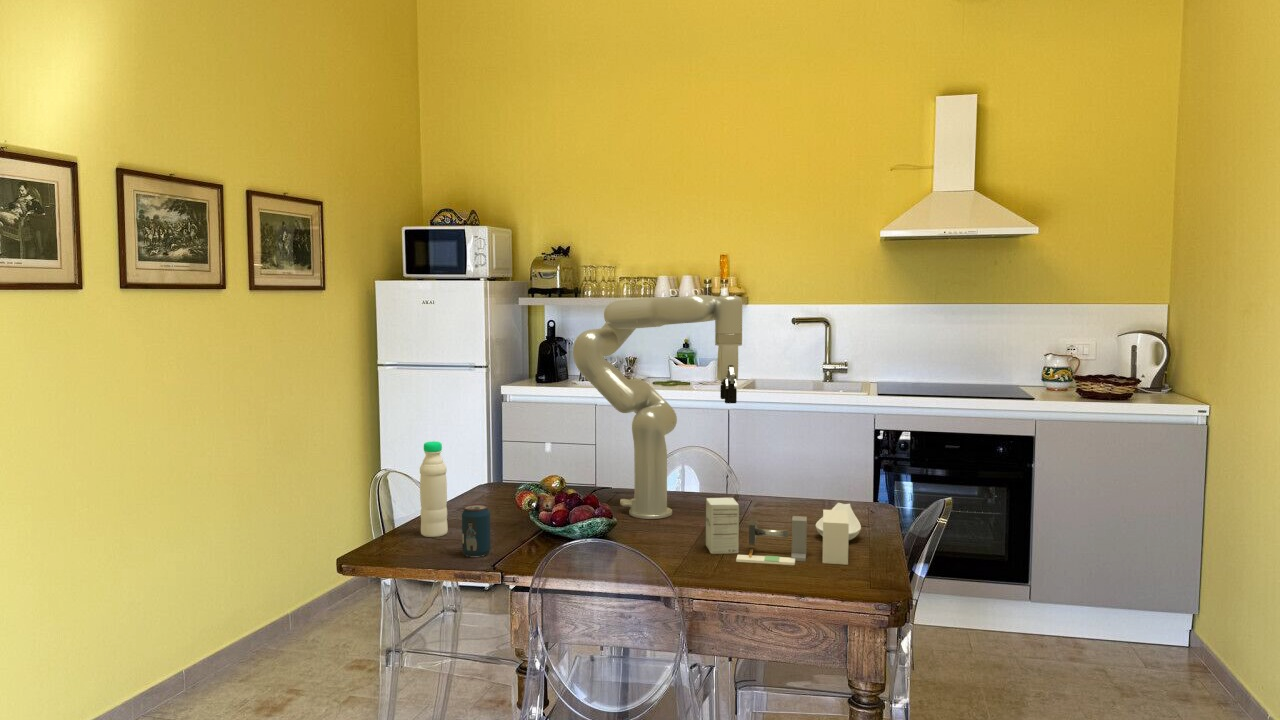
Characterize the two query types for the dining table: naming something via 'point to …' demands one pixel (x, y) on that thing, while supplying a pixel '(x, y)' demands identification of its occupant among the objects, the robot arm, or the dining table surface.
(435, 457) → the cream plastic bottle
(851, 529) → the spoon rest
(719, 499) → the supplement box
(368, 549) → the dining table surface
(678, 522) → the dining table surface
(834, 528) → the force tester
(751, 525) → the plunger
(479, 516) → the soda can
